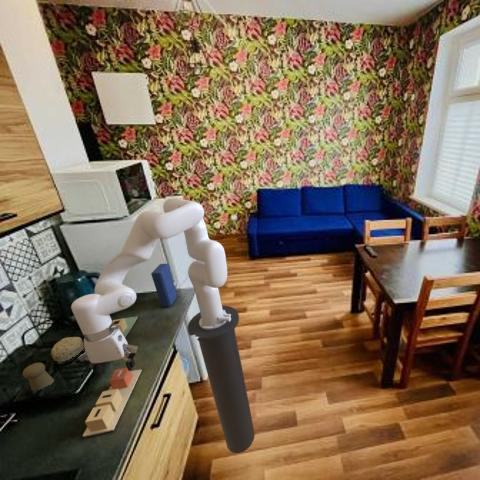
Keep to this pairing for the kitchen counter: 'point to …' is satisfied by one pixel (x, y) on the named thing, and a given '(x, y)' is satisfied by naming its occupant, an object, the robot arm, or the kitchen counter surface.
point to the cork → (37, 376)
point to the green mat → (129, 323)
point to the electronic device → (164, 285)
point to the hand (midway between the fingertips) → (116, 370)
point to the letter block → (121, 378)
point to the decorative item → (67, 348)
